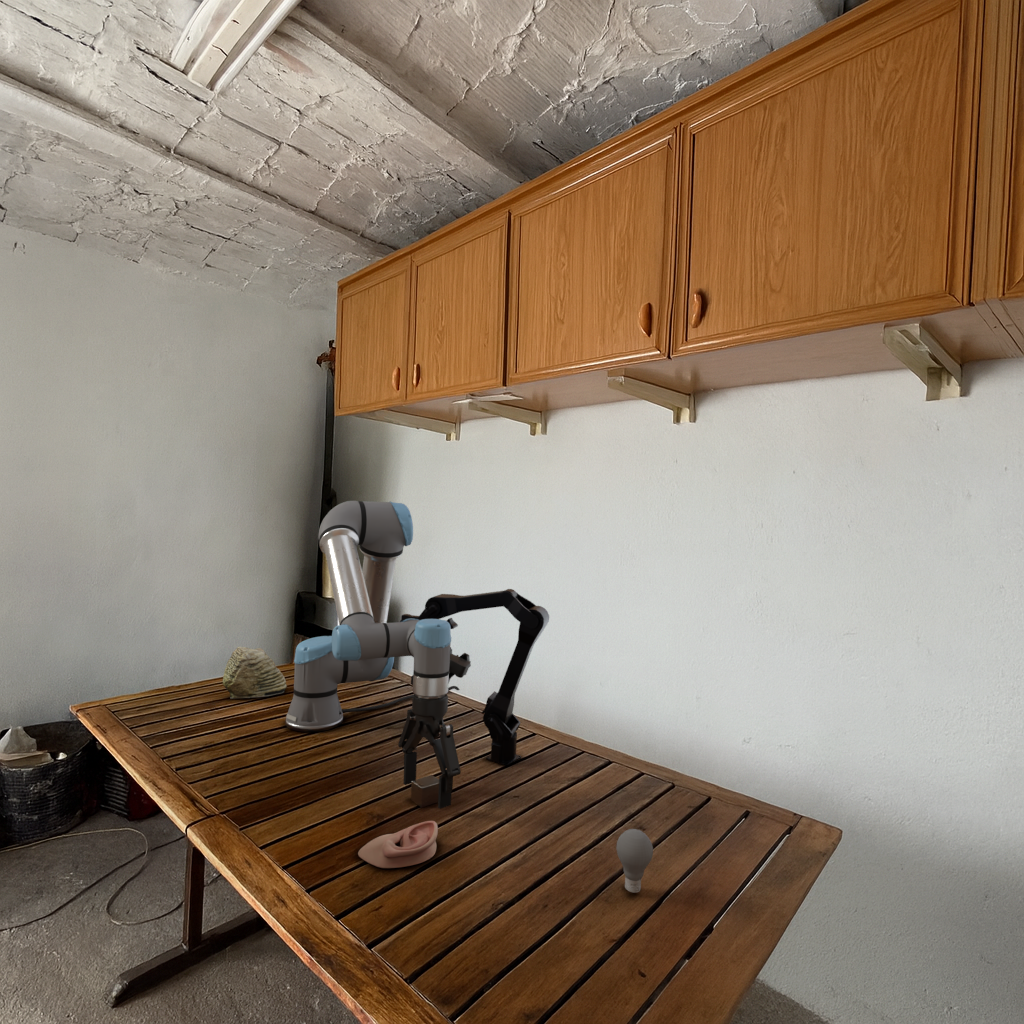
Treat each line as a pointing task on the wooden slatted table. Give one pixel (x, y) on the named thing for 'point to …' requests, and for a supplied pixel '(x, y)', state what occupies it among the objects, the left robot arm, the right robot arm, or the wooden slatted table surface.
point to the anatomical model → (402, 846)
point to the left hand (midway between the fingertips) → (426, 794)
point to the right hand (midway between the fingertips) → (435, 704)
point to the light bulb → (634, 857)
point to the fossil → (252, 674)
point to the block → (425, 791)
